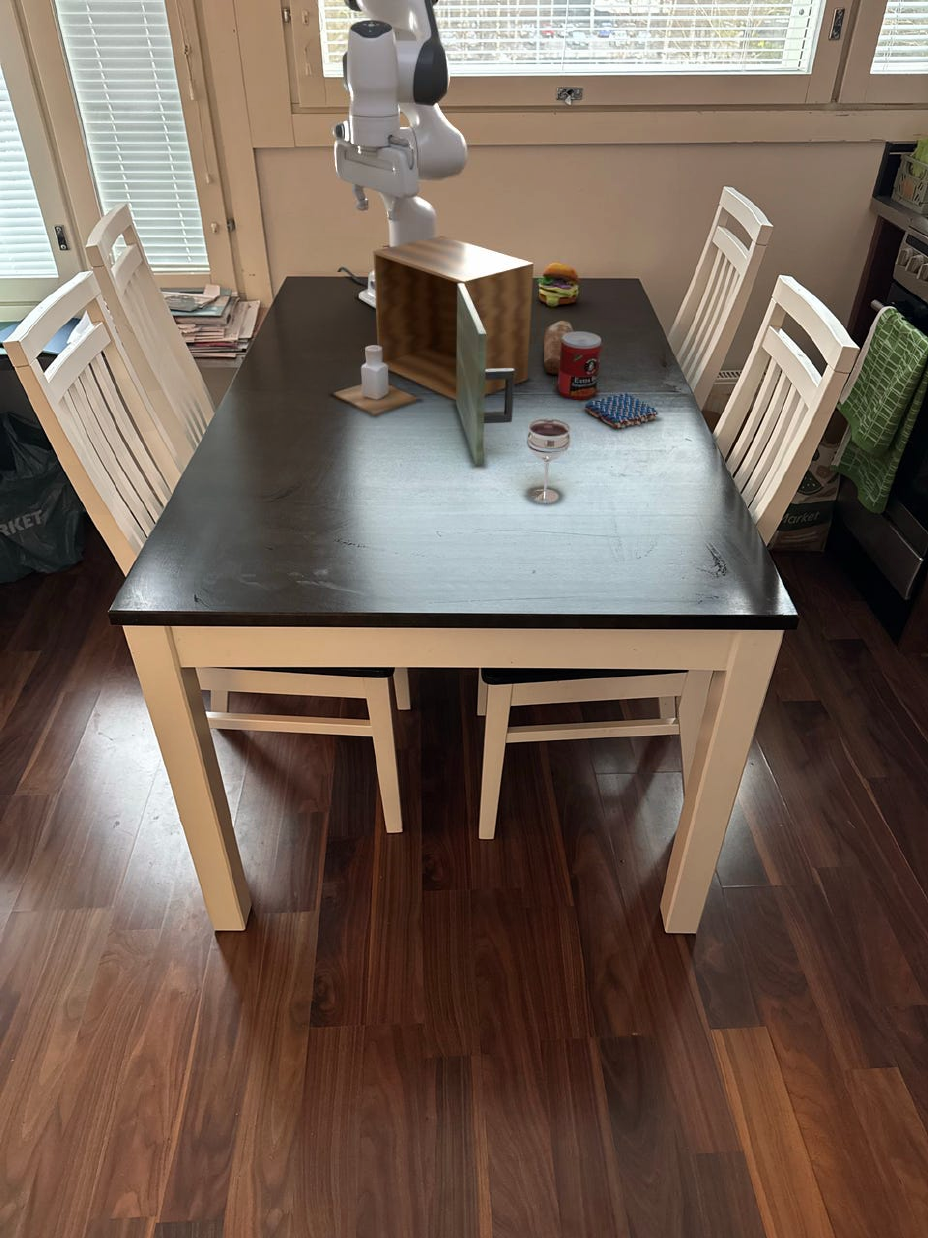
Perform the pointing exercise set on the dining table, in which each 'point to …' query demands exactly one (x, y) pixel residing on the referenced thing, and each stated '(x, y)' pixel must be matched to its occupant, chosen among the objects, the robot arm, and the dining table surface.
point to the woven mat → (621, 410)
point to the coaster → (372, 405)
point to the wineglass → (547, 449)
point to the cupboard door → (476, 376)
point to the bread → (554, 345)
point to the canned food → (579, 365)
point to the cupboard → (450, 309)
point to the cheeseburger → (558, 285)
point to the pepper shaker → (374, 374)
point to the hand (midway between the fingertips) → (378, 214)
